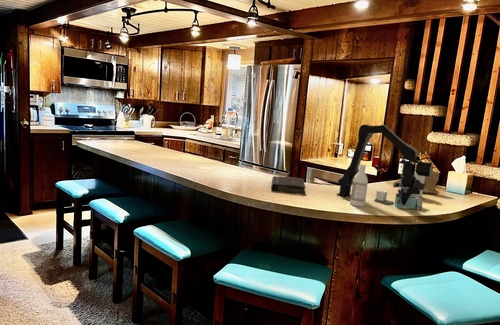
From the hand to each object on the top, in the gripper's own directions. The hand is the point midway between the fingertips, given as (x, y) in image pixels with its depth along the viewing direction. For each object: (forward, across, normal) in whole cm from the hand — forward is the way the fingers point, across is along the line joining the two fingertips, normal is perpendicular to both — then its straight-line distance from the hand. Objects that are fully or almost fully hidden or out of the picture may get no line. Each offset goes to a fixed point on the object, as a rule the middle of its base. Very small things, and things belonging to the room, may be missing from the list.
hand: (403, 205), depth 186 cm
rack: (+2, +10, -7) cm, 13 cm away
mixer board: (+2, +12, +5) cm, 14 cm away
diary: (+2, +25, +55) cm, 60 cm away
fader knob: (+1, +14, +7) cm, 15 cm away
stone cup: (+1, +57, -36) cm, 68 cm away
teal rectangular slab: (+2, +2, -2) cm, 3 cm away
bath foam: (+2, -1, +23) cm, 23 cm away
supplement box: (+1, +39, -21) cm, 44 cm away
